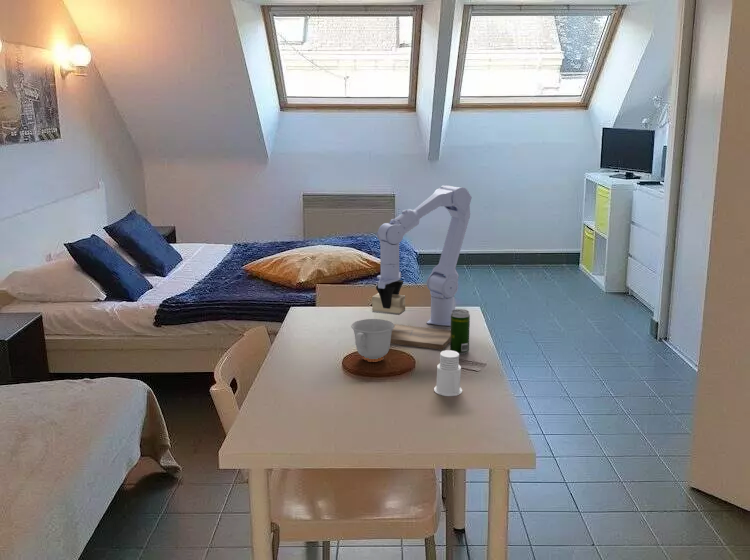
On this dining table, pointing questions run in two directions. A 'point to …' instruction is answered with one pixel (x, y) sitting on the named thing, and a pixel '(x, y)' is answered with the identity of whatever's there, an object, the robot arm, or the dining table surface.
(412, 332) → the board
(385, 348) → the teacup
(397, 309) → the block
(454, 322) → the guarana soda can
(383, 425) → the dining table surface
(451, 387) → the downlight
